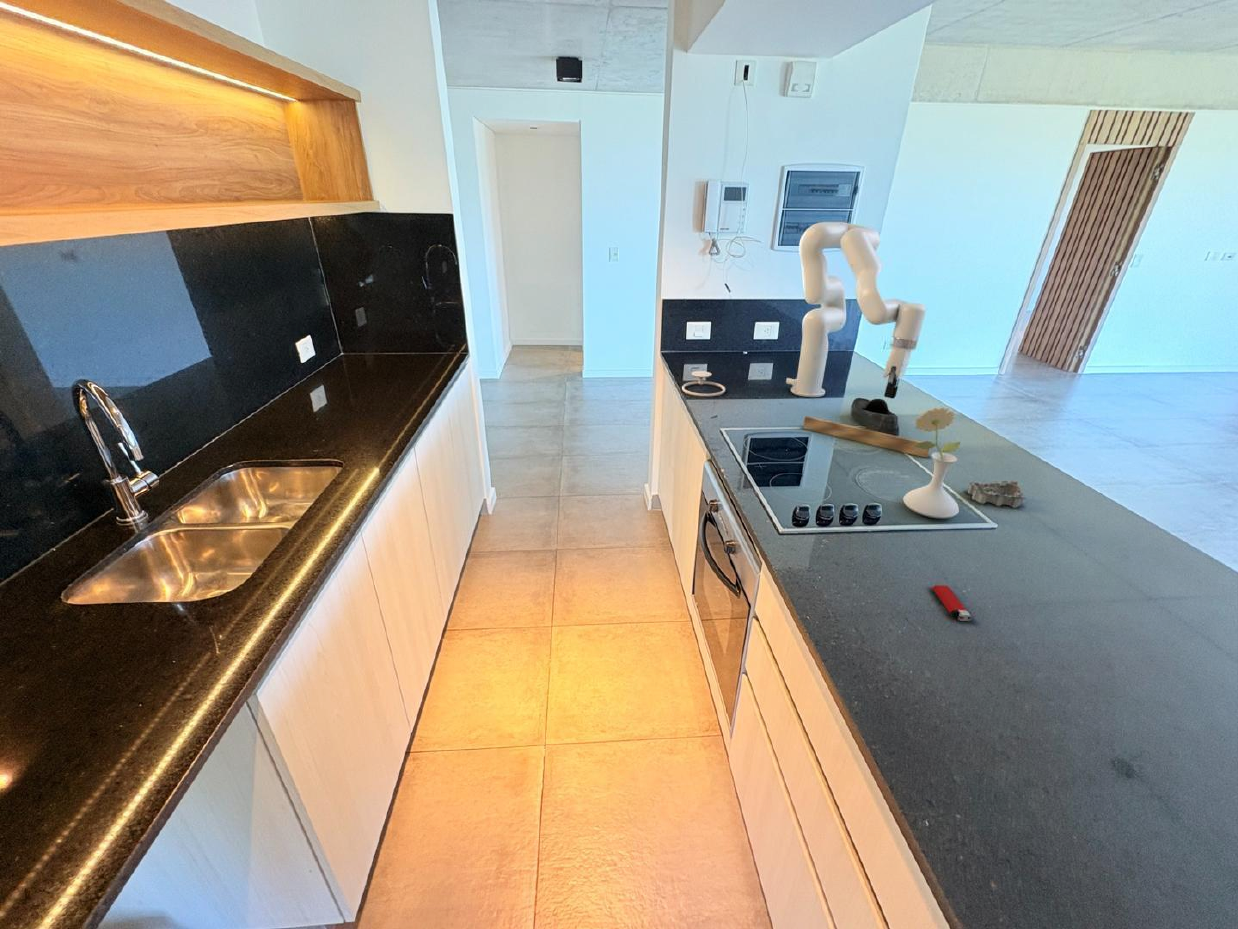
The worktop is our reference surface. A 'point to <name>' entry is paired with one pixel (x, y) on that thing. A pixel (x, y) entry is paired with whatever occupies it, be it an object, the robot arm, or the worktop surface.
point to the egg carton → (997, 493)
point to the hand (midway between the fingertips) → (889, 396)
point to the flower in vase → (935, 470)
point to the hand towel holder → (702, 375)
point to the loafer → (875, 416)
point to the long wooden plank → (865, 436)
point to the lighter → (952, 602)
